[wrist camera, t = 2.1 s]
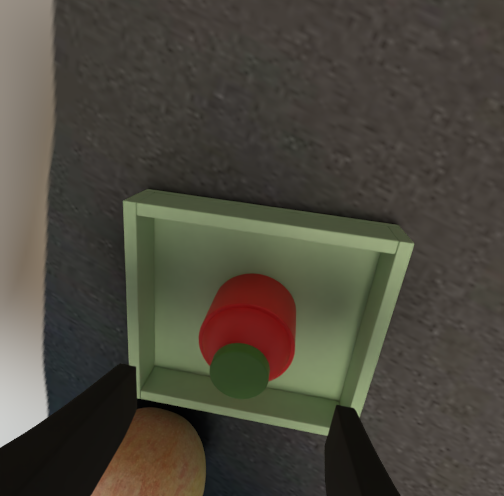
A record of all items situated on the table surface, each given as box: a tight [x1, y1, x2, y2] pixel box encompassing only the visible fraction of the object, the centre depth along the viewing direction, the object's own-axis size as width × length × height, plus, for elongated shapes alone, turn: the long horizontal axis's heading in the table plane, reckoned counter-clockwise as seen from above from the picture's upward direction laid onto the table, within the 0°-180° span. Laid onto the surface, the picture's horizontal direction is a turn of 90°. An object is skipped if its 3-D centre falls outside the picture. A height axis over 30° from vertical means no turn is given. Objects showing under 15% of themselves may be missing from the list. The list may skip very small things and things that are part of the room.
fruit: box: [91, 407, 206, 496], centre depth 19 cm, size 8×7×8 cm
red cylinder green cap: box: [199, 274, 296, 399], centre depth 16 cm, size 4×4×5 cm
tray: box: [123, 189, 414, 436], centre depth 17 cm, size 12×11×2 cm
